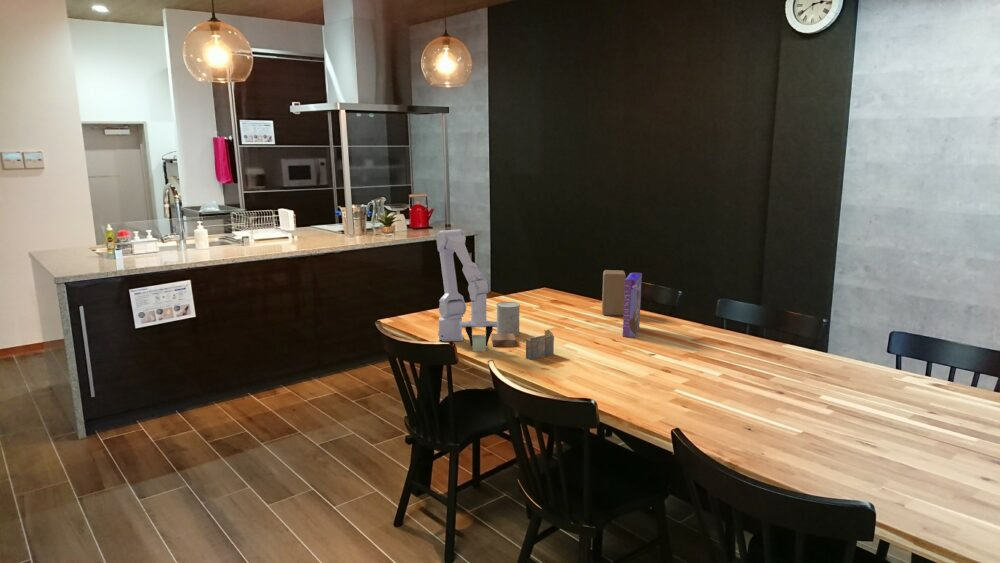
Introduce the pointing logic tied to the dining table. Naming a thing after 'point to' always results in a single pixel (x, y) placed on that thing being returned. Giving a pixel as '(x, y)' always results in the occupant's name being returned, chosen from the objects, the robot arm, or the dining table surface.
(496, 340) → the walnut slab
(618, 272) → the wooden block
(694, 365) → the dining table surface
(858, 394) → the dining table surface
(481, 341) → the sage cube
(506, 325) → the grey cylinder
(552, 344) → the ruin model on sheet
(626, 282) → the cereal box
